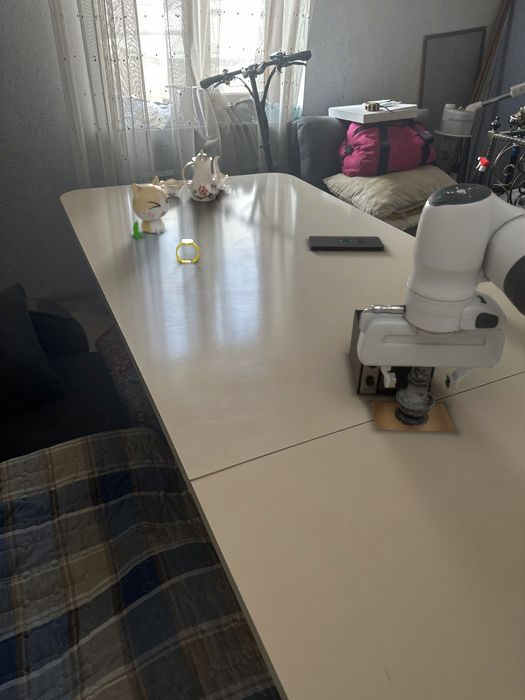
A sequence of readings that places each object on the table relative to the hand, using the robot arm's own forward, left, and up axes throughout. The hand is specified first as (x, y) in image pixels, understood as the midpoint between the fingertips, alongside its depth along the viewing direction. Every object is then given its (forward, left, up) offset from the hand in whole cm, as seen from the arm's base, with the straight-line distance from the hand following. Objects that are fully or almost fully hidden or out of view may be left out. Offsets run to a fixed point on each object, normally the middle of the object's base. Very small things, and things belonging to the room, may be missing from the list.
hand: (420, 386), depth 78 cm
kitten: (+59, -81, -7) cm, 101 cm away
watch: (+45, -59, -7) cm, 75 cm away
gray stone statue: (0, 0, -6) cm, 6 cm away
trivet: (0, 0, -6) cm, 6 cm away
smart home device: (+3, -73, -7) cm, 74 cm away
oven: (+2, -11, -6) cm, 13 cm away
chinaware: (+50, -118, -7) cm, 129 cm away
